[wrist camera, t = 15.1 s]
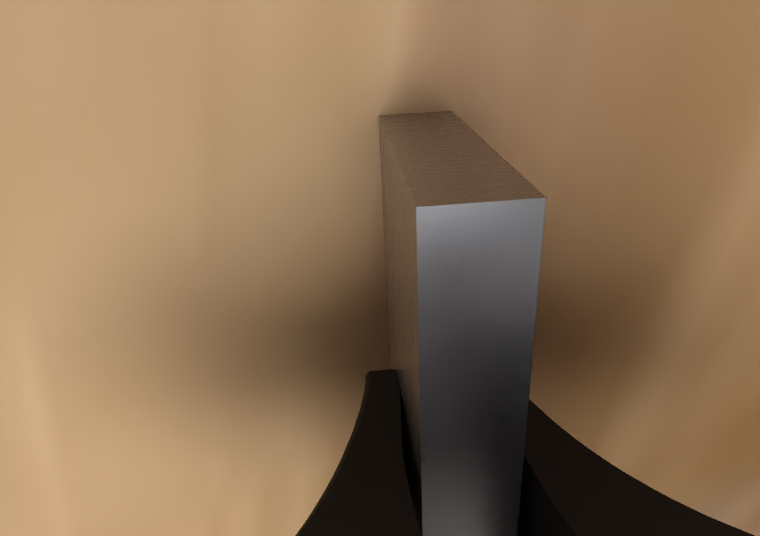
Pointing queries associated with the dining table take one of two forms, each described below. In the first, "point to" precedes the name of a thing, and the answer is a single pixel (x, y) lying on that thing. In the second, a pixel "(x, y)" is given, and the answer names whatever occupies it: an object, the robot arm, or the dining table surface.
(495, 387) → the steel block
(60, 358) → the dining table surface
